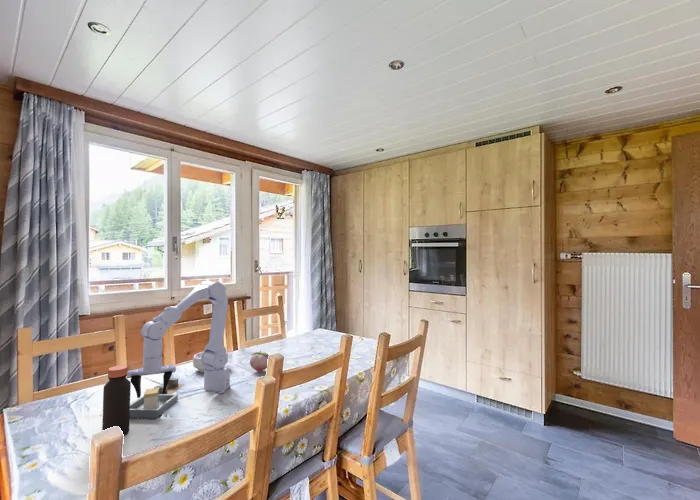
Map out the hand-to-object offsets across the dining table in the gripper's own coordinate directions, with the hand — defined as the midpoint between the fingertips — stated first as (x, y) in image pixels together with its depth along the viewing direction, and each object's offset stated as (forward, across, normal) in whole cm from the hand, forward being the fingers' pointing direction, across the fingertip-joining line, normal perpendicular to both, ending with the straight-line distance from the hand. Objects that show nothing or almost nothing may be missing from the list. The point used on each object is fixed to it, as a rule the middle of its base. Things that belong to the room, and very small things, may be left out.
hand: (151, 395), depth 116 cm
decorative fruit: (+6, -41, -27) cm, 49 cm away
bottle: (+5, +7, +14) cm, 17 cm away
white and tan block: (+5, 0, 0) cm, 5 cm away
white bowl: (+6, -20, -37) cm, 42 cm away
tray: (+5, 0, 0) cm, 5 cm away
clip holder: (+5, -3, -15) cm, 16 cm away
